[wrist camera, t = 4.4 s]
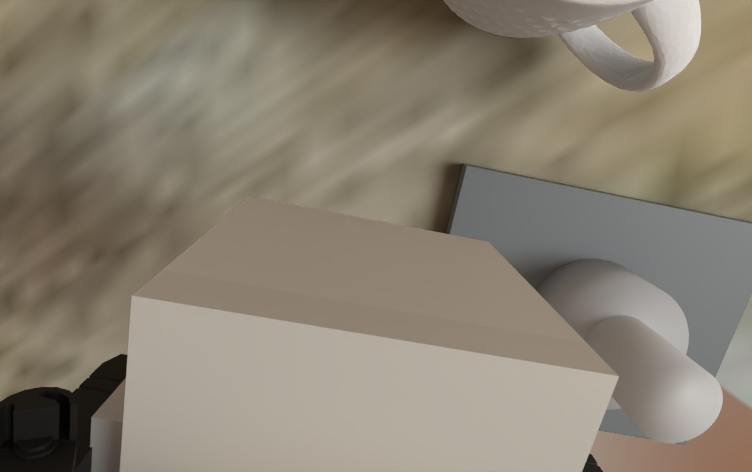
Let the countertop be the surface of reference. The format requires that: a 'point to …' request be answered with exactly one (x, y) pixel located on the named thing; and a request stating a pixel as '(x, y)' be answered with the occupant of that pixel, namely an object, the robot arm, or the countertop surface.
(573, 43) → the mug
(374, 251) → the cream cube block
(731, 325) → the post base
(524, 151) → the countertop surface
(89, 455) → the robot arm
